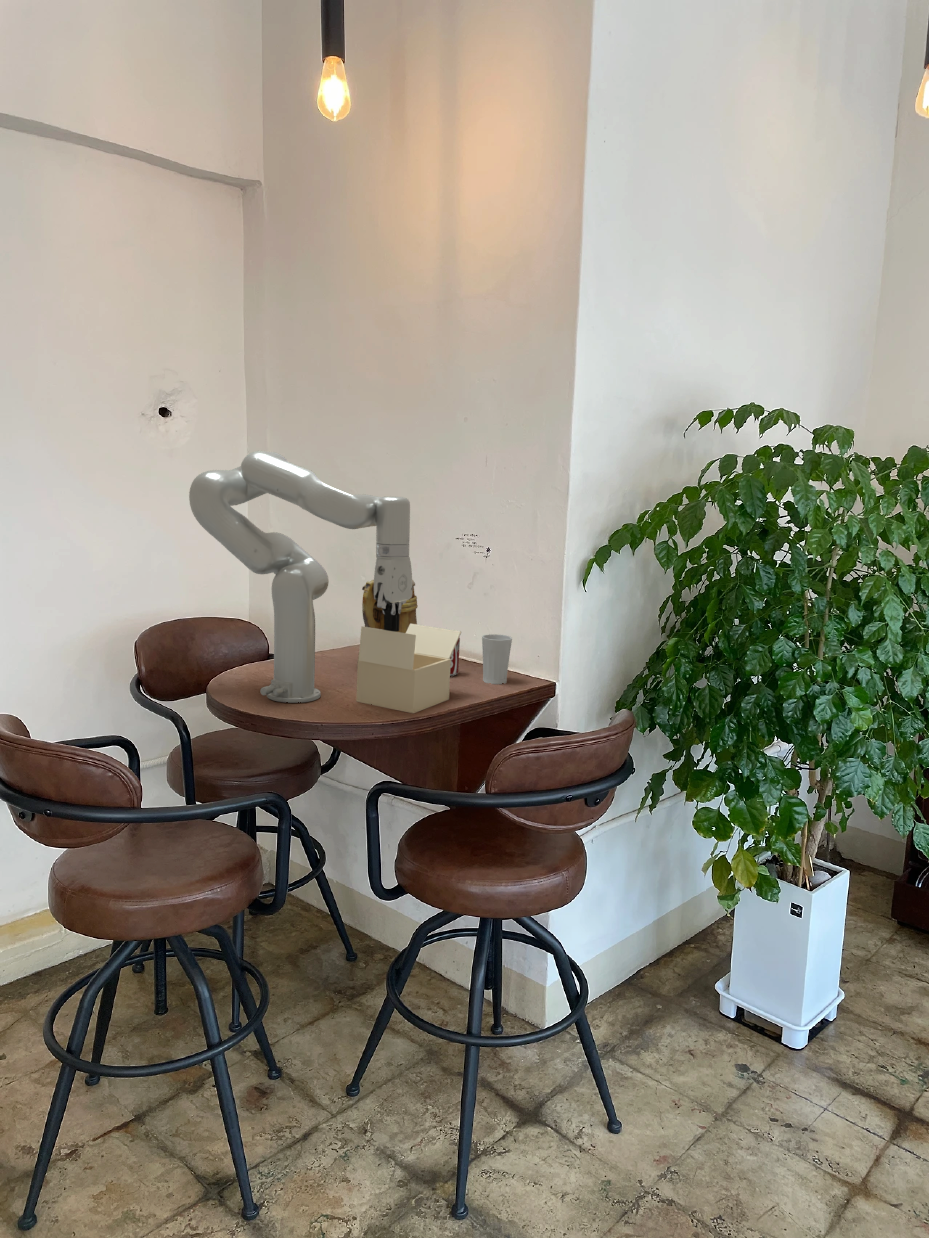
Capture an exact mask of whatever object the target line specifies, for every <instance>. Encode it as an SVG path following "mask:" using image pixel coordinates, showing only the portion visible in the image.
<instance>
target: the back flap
mask: <svg viewBox="0 0 929 1238" xmlns="http://www.w3.org/2000/svg"><path fill="white" fill-rule="evenodd" d="M406 633H407V634H413V635H416V640H415V651H414V653H417V654H423V655H429V656H435V657H441V658H447V659H450V657H451V655H452V653H453V650H454V648H455V646H456V644H457V641H458V639H459V637H461V634H462V631H461V630H455V629H448V628H441V627H435V626H429V625H422V624H418V623H417V624H410V625H409V627H408V629H407V631H406Z"/></svg>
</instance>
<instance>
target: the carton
mask: <svg viewBox="0 0 929 1238" xmlns="http://www.w3.org/2000/svg"><path fill="white" fill-rule="evenodd" d="M357 662H358V664H357V673H356V702H357V703H363V704H366V705H371V704H372V705H371V706H375V707H381V708H385V709H391V710H396V711H401V712H405V713H410V714H415V713H418V712H421V711H423V710H425V709H428V708H431V707H433V706H436V705H439V704H440V703H443V702H446V701H449V700H450V685H451V677H450V667H451V659H447V658H441V657H435V656H429V655H423V654H417V653H414V663H413V670H409V669H403V668H398V667H392V666H387V665H381V664H376V663H370V662H365V661H359V660H358V659H357Z"/></svg>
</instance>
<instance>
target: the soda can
mask: <svg viewBox="0 0 929 1238" xmlns="http://www.w3.org/2000/svg"><path fill="white" fill-rule="evenodd" d="M460 637H461V636H460ZM460 637H459V639H458V641H457V644H456V646H455V648H454V650H453V653H452V655H451V657H450V659H451V667H450V676H451V677H454V676H455V675H458V674H459V667H460V666H459V663H460V643H461V642H460V641H461V638H460Z"/></svg>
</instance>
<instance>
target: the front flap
mask: <svg viewBox="0 0 929 1238" xmlns="http://www.w3.org/2000/svg"><path fill="white" fill-rule="evenodd" d="M415 640H416V635H413V634H407V633H401V632H395V631H388V630H382V629H376V628H369V627H365V626H360V638H359V649H358V650H359V651H358V654H359V655H358V656H359V661H365V662H370V663H376V664H381V665H387V666H392V667H398V668H403V669H409V670H413V663H414V651H415Z"/></svg>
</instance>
